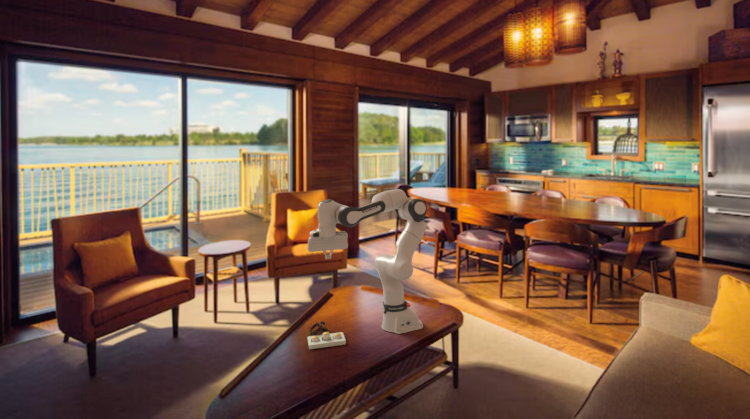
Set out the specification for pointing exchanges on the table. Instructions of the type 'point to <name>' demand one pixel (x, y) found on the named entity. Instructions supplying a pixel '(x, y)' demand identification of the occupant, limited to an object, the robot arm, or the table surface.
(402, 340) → the table surface
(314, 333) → the pottery mug
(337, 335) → the button
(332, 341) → the button board
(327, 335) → the button
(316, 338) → the button
